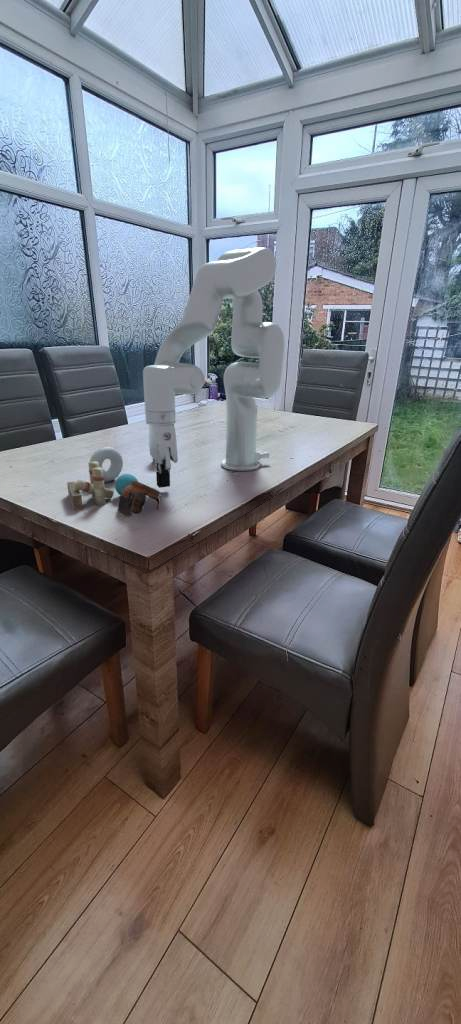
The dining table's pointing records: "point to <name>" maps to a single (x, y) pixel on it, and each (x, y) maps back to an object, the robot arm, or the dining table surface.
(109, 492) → the front pin
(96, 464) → the pin
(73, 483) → the stopper strip
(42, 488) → the dining table surface
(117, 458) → the donut
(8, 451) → the dining table surface
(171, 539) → the dining table surface
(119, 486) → the ball
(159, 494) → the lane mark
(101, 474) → the pin
